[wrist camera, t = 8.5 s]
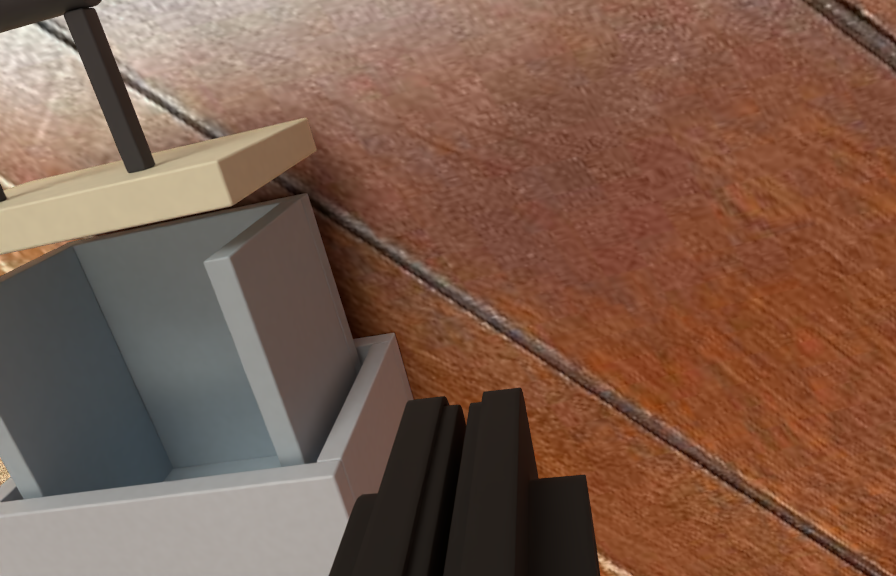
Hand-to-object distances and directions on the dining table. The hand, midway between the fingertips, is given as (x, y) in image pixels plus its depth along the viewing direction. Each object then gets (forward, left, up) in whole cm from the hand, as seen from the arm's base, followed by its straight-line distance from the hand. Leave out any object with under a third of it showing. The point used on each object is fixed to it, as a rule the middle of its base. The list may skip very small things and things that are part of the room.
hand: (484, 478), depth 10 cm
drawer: (-1, -12, -15) cm, 19 cm away
